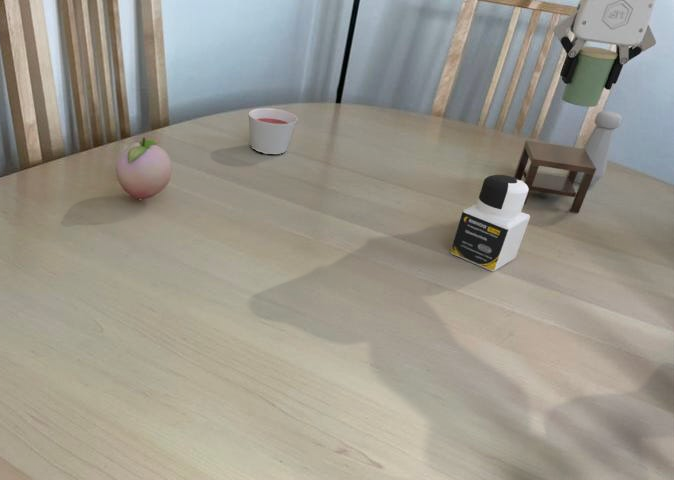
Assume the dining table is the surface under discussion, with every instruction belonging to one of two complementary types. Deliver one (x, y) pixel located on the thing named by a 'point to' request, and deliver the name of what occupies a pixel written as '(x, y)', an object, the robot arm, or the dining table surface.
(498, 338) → the dining table surface
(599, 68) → the tea tin
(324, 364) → the dining table surface
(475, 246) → the medicine bottle
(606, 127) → the salt shaker
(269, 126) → the candle
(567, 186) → the stand
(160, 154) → the decorative fruit
